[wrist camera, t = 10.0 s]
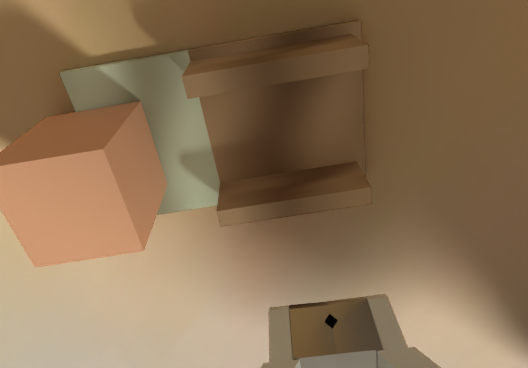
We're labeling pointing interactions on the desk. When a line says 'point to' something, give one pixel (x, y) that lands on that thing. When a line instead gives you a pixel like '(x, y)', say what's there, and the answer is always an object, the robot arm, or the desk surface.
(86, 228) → the block
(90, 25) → the desk surface
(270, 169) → the chute
